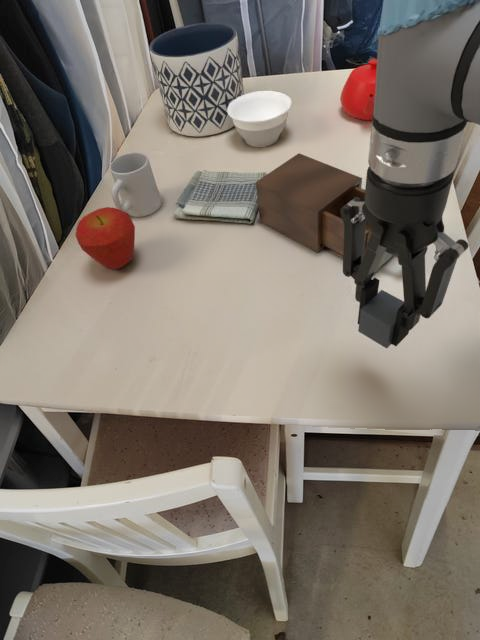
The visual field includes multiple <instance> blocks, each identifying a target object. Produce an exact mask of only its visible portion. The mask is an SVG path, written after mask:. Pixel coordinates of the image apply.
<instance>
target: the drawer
mask: <svg viewBox="0 0 480 640" xmlns="http://www.w3.org/2000/svg"><path fill="white" fill-rule="evenodd" d="M355 197H359V198H360V199H361V200H362V202H365V189H364V188H363V187H361V188H359V187H357V186H356V187H354V188H353V189H352V190H350V191H349V192H348V193H347V194H345V195H344V196H343V197H341V198H340V199H339V200H337V201H336V202H335V203H334V204H332V205H331V206H330V207H328V208H327V209H326V210H324V211H323V212H322V213H321V239H320V244H322V245H324V246H325V248H327V249H330V250H332V251H334V252H336V253H338V254H339V255H342V256H343V246H344V223H343V220H342V216H341V213H340V209H341V208H342V207H344V206H345V205H346V204H347V203H349V202H350V201H351V200H352V199H354V198H355ZM371 233H372V232H371V229H370V227H369V225H368V223H367V221H366V229H365V241H364V254H363V258H364V255H365V253H366V250H367V247H366V246H367V243H368V241H369V238H370V236H371ZM393 257H395V258H398V253H396V252H395V251H394V250H392V249H389V248H386V251H385V253H384V255H383V257H382V259H381V262H380V264H379V266H378V268H377V270H376V271H378V270H379V269H380V268H381V267H382V266H383V265H384V264H385V263H387V262H388V261H389V260H390V259H391V258H393Z"/></svg>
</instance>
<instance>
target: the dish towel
mask: <svg viewBox="0 0 480 640" xmlns="http://www.w3.org/2000/svg"><path fill="white" fill-rule="evenodd" d="M267 174H268V172H266V171H264V172H263V171H262V172H233V171H210V170H206V169H205V170H204V169H203V170H197V171H195V173H193V176H192V177H191V179H190V181H189V182H188V184H187V185H186V187H185V188H184V190H183V191H182V193H181V195H180V196H179V198H178V199H176V202H175V204H176V205H177V206H176V209H175V210H174V213H173V215H174V218H175V219H183V220H193V221H212V222H213V221H214V222H215V221H216V222H223V223H237V224H248V225H251V224H253V223H254V221H255V219H256V216H257V212H258V211H259V208H258V199H257V190H256V182H257V181H258V180H260V179H261V178H263V177H264V176H266V175H267Z"/></svg>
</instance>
